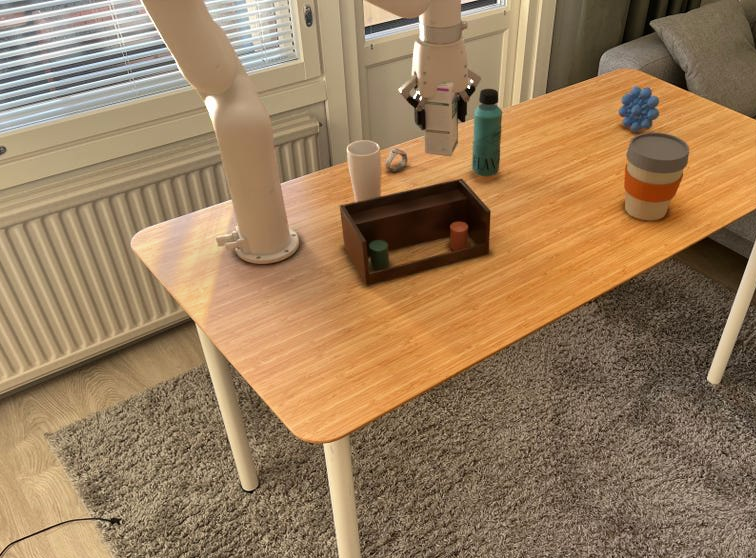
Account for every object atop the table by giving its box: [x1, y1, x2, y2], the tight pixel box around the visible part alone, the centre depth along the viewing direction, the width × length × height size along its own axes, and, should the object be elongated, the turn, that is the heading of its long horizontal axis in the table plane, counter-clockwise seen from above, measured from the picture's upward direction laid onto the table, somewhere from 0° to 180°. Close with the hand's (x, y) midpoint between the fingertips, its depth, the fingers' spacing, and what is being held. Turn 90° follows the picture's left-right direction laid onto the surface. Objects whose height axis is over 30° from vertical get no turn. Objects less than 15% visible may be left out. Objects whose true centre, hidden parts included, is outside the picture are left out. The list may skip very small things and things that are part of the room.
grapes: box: [618, 86, 660, 133], centre depth 178 cm, size 12×7×12 cm, turn 42°
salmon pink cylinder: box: [449, 222, 469, 251], centre depth 143 cm, size 4×4×5 cm
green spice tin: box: [369, 240, 390, 272], centre depth 137 cm, size 4×4×5 cm
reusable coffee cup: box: [623, 131, 690, 221], centre depth 150 cm, size 13×13×15 cm
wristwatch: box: [384, 147, 408, 173], centre depth 165 cm, size 4×6×5 cm, turn 140°
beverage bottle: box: [471, 88, 503, 177], centre depth 158 cm, size 6×7×20 cm
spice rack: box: [339, 178, 492, 286], centre depth 139 cm, size 26×13×10 cm, turn 115°
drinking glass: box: [346, 139, 382, 202], centre depth 148 cm, size 7×7×15 cm
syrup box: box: [423, 82, 459, 157], centre depth 139 cm, size 6×6×14 cm
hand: (441, 123), depth 140 cm, fingers closed on syrup box, 8 cm apart
